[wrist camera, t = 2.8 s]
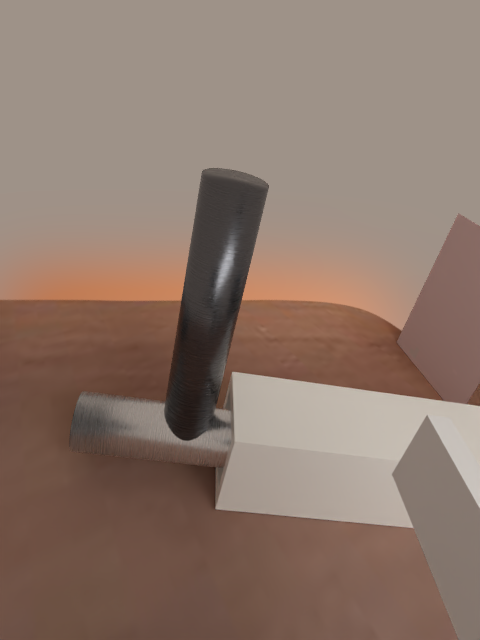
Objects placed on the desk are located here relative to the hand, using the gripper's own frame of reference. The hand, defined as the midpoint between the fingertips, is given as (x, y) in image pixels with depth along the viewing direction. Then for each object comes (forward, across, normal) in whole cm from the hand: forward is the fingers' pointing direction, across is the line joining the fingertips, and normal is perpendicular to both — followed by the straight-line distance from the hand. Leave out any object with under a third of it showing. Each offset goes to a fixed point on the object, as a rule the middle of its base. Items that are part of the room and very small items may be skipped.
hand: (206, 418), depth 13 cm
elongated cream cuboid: (+10, +12, -14) cm, 22 cm away
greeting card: (+25, +25, -14) cm, 38 cm away
